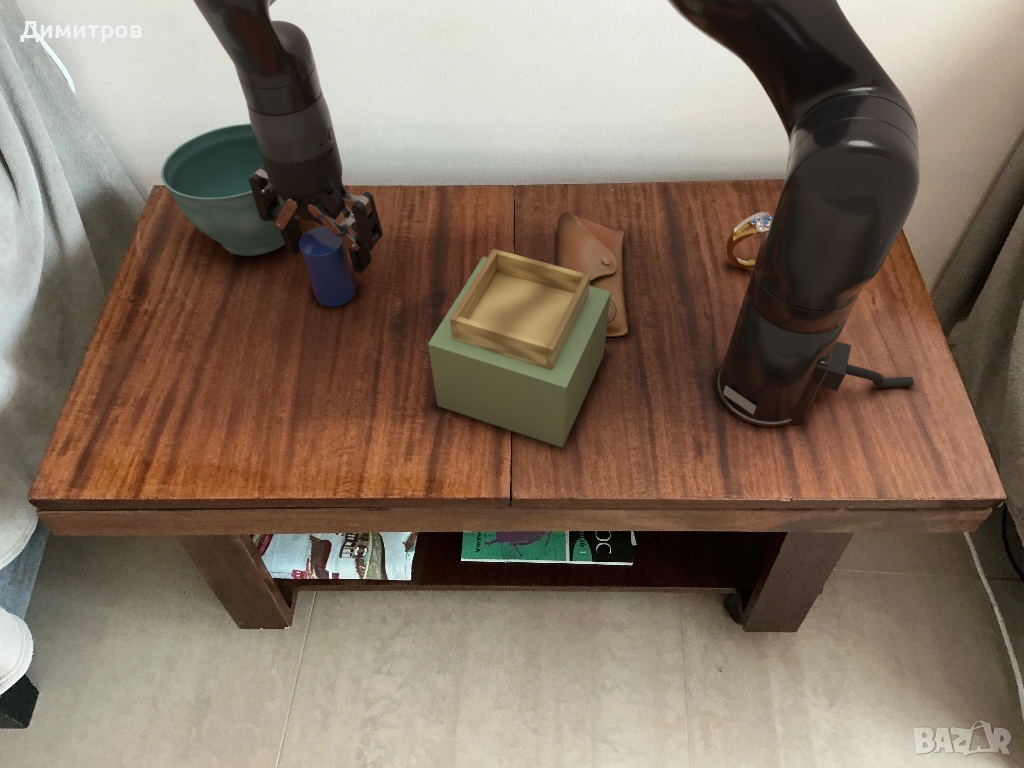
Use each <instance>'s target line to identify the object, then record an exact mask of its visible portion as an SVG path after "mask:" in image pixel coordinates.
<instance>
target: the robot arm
mask: <svg viewBox="0 0 1024 768" xmlns="http://www.w3.org/2000/svg"><path fill="white" fill-rule="evenodd" d="M192 1H193V2H194V4H195V6H196V8H197V10H198V11H199V12H200V14H201V15H202V17H203V18H204V20H205V22H206V23H207V25H208V26H209V27H210V29H211V31H212V32H213V34H214V35H215V37H216V39H217V40H218V42H219V44H220V45H221V46H222V49H224V51H225V53H226V55H228V57H229V59H230V61H232V64H233V65H234V68H235V72H236V75H237V78H238V81H239V84H240V88H241V90H242V93H243V96H244V99H245V102H246V103H245V104H246V107H247V112H248V117H249V123H251V127H252V130H253V133H254V136H255V139H256V142H257V145H258V148H259V152H260V155H261V158H262V161H263V164H264V165H262V166H261V167H260V168H259V169H258V170H257V171H256V172H255V173H254V174H253V175H252V176H251V177H250V179H249V182H250V186H251V189H252V192H253V196H254V199H255V203H256V206H257V209H258V213H259V216H260V218H261V219H262V220H263V221H266V222H268V221H269V220H271V221H273V222H274V223H275V226H276V227H277V228H278V229H280V231H281V234H282V237H283V240H284V243H285V244H284V245H285V247H286V248H287V249H288V252H289V253H290V254H292V255H299V253H300V252H301V250H300V246H299V242H300V239H301V237H302V236H303V235H304V234H303V231H302V228H301V224H300V222H299V218H300V220H302V221H305V222H314V223H315V224H318V225H319V226H323V227H327V228H328V229H329V230H330V232H331V233H332V234H333V235H334V236H336V237H341V238H342V239H343V240H344V244H345V245H347V246H348V252H349V257H350V260H351V264H352V268H353V271H354V272H355V273H357V274H361V275H362V274H363V272H364V271H366V270H367V268H368V267H369V266H370V264H371V263H372V260H373V259H372V254H371V251H372V250H373V249H374V247H375V246H376V244H377V243H378V242H379V240H380V239H382V237H383V236H384V233H383V227H382V225H381V221H380V217H379V214H378V210H377V206H376V202H375V199H374V195H373V194H372V193H371V192H370V191H363V193H362V194H361V195H357V194H352V193H349V191H348V190H347V189H346V187H345V185H344V183H343V163H342V160H341V156H340V155H341V154H340V151H339V150H340V149H339V147H338V142H337V138H336V133H335V129H334V125H333V120H332V116H331V112H330V109H329V105H328V103H327V100H326V98H325V96H324V93H323V90H322V85H321V81H320V77H319V73H318V72H319V71H318V69H317V64H316V61H315V56H314V53H313V50H312V45H311V43H310V39H309V38H308V37H307V35H306V32H304V30H303V29H302V28H300V27H299V26H298V25H296V24H294V23H292V22H290V21H286V20H285V21H284V20H272V18H271V14H270V7H272V6H273V4H275V3H276V2H277V1H278V0H192ZM666 1H667V2H668V4H669V6H671V7H672V8H673V9H674V11H675V12H676V13H677V14H678V15H679V16H680V17H682V18H683V19H684V20H685V21H686V22H687V23H689V24H690V25H691V26H692V27H693V28H695V30H698V31H699V32H700V33H701V34H703V35H704V36H706V37H707V38H708V39H710V40H711V41H713V42H715V43H717V44H718V45H719V46H721V47H722V48H724V49H726V50H727V51H729V53H731V54H732V55H734V56H735V57H737V58H738V59H739V60H740V61H741V62H742V63H743V64H744V65H745V66H746V67H747V68H748V69H749V71H750V72H751V73H752V74H753V75H754V77H755V78H756V79H757V81H758V82H759V84H760V86H761V87H762V89H763V91H764V92H765V94H766V95H767V97H768V99H769V100H770V103H771V104H772V106H773V108H774V110H775V112H776V114H777V115H778V118H779V119H780V121H781V123H782V124H781V125H782V126H783V128H784V131H785V133H786V135H787V139H788V144H789V145H788V147H789V149H788V155H787V165H786V172H785V177H784V181H783V186H782V188H781V191H780V196H779V199H778V201H777V205H776V208H775V211H774V214H773V216H772V217H773V220H772V223H771V226H770V229H769V231H768V232H765V235H764V236H763V238H762V240H761V242H760V244H759V247H758V252H757V255H756V258H755V261H756V262H755V265H754V268H753V271H751V275H750V278H749V281H748V284H747V287H746V290H745V294H744V296H743V300H742V303H741V306H740V310H739V312H738V315H737V318H736V321H735V325H734V327H733V331H732V335H731V337H730V341H729V343H728V344H729V345H728V347H727V350H726V352H725V357H724V359H723V362H722V365H721V368H720V369H719V373H718V376H717V379H716V391H717V395H718V398H719V399H720V401H721V403H722V404H723V406H724V407H725V408H726V409H727V411H728V412H730V413H731V414H732V415H733V416H735V417H736V418H738V419H739V420H742V421H743V422H746V423H747V424H750V425H754V426H757V427H762V428H763V427H765V428H776V427H783V426H786V425H789V424H790V425H794V426H795V425H796V426H799V427H800V426H802V424H803V423H804V420H805V419H806V416H807V414H808V412H809V410H810V408H811V406H812V404H813V402H814V400H815V398H816V396H817V394H818V392H819V389H820V388H824V389H827V390H831V391H833V392H838V390H839V388H840V386H841V384H842V383H843V381H844V379H845V376H846V375H848V376H851V377H857V378H860V379H864V380H868V381H871V382H872V384H873V386H875V387H876V388H881V389H882V388H883V389H891V388H902V387H903V388H904V387H913V386H914V382H915V381H914V378H913V376H901V377H890V378H889V377H887V378H886V377H884V376H883V374H881V373H879V372H877V371H874V370H871V369H868V368H865V367H861V366H857V365H852V364H849V359H850V354H851V349H852V344H848V343H845V342H841V341H838V340H839V337H840V336H841V334H842V332H843V329H844V327H845V325H846V323H847V322H848V319H849V317H850V315H851V312H852V310H853V308H854V306H855V304H856V302H857V300H858V298H859V296H860V294H861V292H862V290H863V288H864V286H867V284H869V283H870V282H871V281H872V280H873V279H874V278H875V277H876V275H877V274H878V273H879V271H880V269H881V268H882V266H883V264H884V262H885V261H886V259H887V257H888V255H889V253H890V252H891V250H892V248H893V246H894V244H895V242H896V240H897V239H898V237H899V235H900V233H901V231H902V229H903V227H904V225H905V223H906V222H907V220H908V217H909V215H910V213H911V211H912V209H913V206H914V204H915V201H916V199H917V195H918V191H919V186H920V175H921V173H920V148H919V147H920V144H919V131H918V121H917V119H916V116H915V114H914V112H913V109H912V107H911V105H910V103H909V101H908V99H907V98H906V97H905V96H904V94H903V92H902V91H901V90H900V89H899V87H898V86H897V84H896V83H895V81H893V80H892V78H891V77H890V75H889V74H888V73H887V71H886V70H885V68H884V67H883V66H882V65H881V64H880V63H879V61H878V60H877V58H876V57H875V56H874V54H873V53H872V52H871V49H869V48H868V46H867V45H866V43H865V42H864V41H863V39H862V38H861V36H859V34H858V32H857V31H856V30H855V29H854V27H853V25H852V24H851V22H850V21H849V20H848V18H847V17H846V15H845V12H844V11H843V10H842V8H841V6H840V4H839V2H838V0H666ZM278 195H279V196H280V197H281V198H282V199H283V200H284V201H285V205H284V207H283V208H281V205H280V201H279V198H278ZM268 202H269V204H268ZM341 213H342V214H343V218H342V220H341V222H340V223H338V222H337V221H336V219H337V218H338V217H339V216H340V214H341ZM296 214H297V215H298V216H299V218H298V219H294V217H295V216H296ZM350 228H351V229H352V230H353V231H354V233H355V234H354V235H353V234H352V233H351V232H350V230H349V229H350Z"/></svg>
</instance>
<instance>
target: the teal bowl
mask: <svg viewBox="0 0 1024 768" xmlns="http://www.w3.org/2000/svg"><path fill="white" fill-rule="evenodd" d="M262 165H264V164H263V161H262V158H261V155H260V152H259V148H258V145H257V142H256V139H255V136H254V133H253V130H252V127H251V123H250V122H247V123H239V124H238V123H237V124H232V125H231V124H230V125H227V126H221V127H217V128H215V129H211V130H209V131H205V132H203V133H201V134H199V135H196V136H194V137H192V138H190V139H189V140H187V141H185V142H183V143H182V144H179V146H178V147H176V148H175V149H174V150H173V151H172V152H171V153H170V154H169V155H168V156H167V157H166V159H165V160H164V162H163V164H162V167H161V170H160V179H161V180H162V183H163V185H164V187H165V188H166V189H167V190H168V192H169V194H170V195H171V196H172V198H173V200H174V202H175V204H176V205H177V207H178V208H179V209H180V211H181V213H182V214H183V215H184V216H185V217H186V218H187V220H188V221H189V222H190V223H191V224H192V225H193V226H195V228H197V229H198V230H199V231H200V232H202V233H203V234H204V235H206V236H207V237H209V238H210V239H212V240H214V241H216V242H218V243H220V244H221V246H222V247H223V249H225V250H226V251H227V252H229V253H231V254H233V255H237V256H243V257H250V256H252V257H253V256H261V255H265V254H268V253H271V252H274V251H276V250H278V249H279V248H282V247H283V246H284V245H285V243H284V240H283V237H282V234H281V231H280V229H278V228H277V227H276V226H275V223H274V222H273V221H271V220H269V221H268V222H266V221H263V220H262V219H261V218H260V216H259V213H258V209H257V206H256V203H255V199H254V196H253V192H252V189H251V186H250V182H249V179H250V177H251V176H252V175H253V174H254V173H255V172H256V171H257V170H258V169H259V168H260V167H261V166H262ZM278 198H279V201H280V205H281V208H283V207H284V205H285V201H284V200H283V199H282V198H281V197H280V196H279V195H278ZM268 204H269V202H268ZM299 218H300V216H298V215H297V214H296V216H295V217H294V219H298V220H299Z"/></svg>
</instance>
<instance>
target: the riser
mask: <svg viewBox="0 0 1024 768" xmlns="http://www.w3.org/2000/svg"><path fill="white" fill-rule="evenodd" d="M487 258H488V256H482V257H481V259H480V260H479V262H478V264H477V266H476V267H475V268H474V270H473V272H472V273H471V275H470V276H469V278H468V280H467V281H466V283H465V285H464V286H463V287H462V289H461V291H460V292H459V294H458V295H457V297H456V299H455V300H454V302H453V303H452V305H451V307H450V309H448V312H447V313H446V315H445V316H444V317H443V319H442V321H441V322H440V323H439V326H438V327H437V329H436V330H435V332H434V333H433V335H432V336H431V338H430V340H429V342H428V343H427V348H428V353H429V359H430V367H431V372H432V379H433V386H434V392H435V398H436V405H437V407H439V408H442V409H446V410H448V411H452V412H455V413H458V414H460V415H463V416H467V417H469V418H472V419H474V420H479V421H481V422H484V423H487V424H489V425H493V426H496V427H500V428H502V429H505V430H509V431H511V432H514V433H517V434H520V435H523V436H525V437H529V438H531V439H535V440H537V441H541V442H544V443H546V444H550V445H553V446H555V447H559V448H564V446H565V444H566V441H567V439H568V436H569V435H570V432H571V430H572V428H573V425H574V423H575V421H576V419H577V416H578V415H579V413H580V411H581V407H582V405H583V403H584V401H585V398H586V396H587V395H588V392H589V390H590V388H591V385H592V382H593V380H594V379H595V377H596V375H597V371H598V370H599V367H600V365H601V363H602V360H603V359H604V354H605V347H606V340H607V339H606V338H607V337H606V330H607V322H608V314H609V306H610V297H611V292H610V291H606V290H602V289H599V288H595V287H592V286H589V296H588V298H587V300H586V302H585V304H584V306H583V308H582V310H581V312H580V314H579V317H578V319H577V321H576V323H575V325H574V327H573V329H572V331H571V333H570V335H569V337H568V339H567V341H566V343H565V345H564V347H563V349H562V351H561V353H560V355H559V357H558V359H557V361H556V364H555V366H554V368H553V370H550V369H547V368H544V367H541V366H537V365H534V364H531V363H528V362H525V361H521V360H518V359H515V358H512V357H508V356H505V355H502V354H499V353H495V352H492V351H489V350H486V349H483V348H479V347H476V346H473V345H470V344H466V343H463V342H460V341H457V340H453V339H452V332H451V324H450V318H451V316H452V315H453V313H454V311H455V310H456V308H457V307H458V305H459V303H460V302H461V300H462V298H463V297H464V295H465V294H466V292H467V290H468V289H469V287H470V286H471V284H472V282H473V281H474V279H475V278H476V276H477V274H478V273H479V271H480V270H481V268H482V266H483V265H484V263H485V262H486V260H487Z"/></svg>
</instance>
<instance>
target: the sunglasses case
mask: <svg viewBox="0 0 1024 768" xmlns="http://www.w3.org/2000/svg"><path fill="white" fill-rule="evenodd" d="M557 220H558V221H557V240H556V266H559V267H562V268H566V269H570V270H573V271H577V272H581V273H584V274H588V275H590V285H589V286H592V287H595V288H599V289H602V290H606V291H610V292H611V297H610V306H609V314H608V322H607V330H606V338H618V337H623V336H624V337H625V336H626V335H628V333H629V323H628V315H627V309H626V301H625V300H626V299H625V291H624V290H625V289H624V268H623V267H624V265H623V261H624V259H623V255H624V254H623V250H624V249H623V248H624V234H625V232H624V230H622V229H614V228H611V227H607V226H605V225H602V224H599V223H597V222H593V221H590V220H588V219H585V218H582V217H580V216H577V215H574V214H573V212H572V211H569V210H567V211H564V212H563V213H562V214H560V216H559V217H558V219H557Z"/></svg>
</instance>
